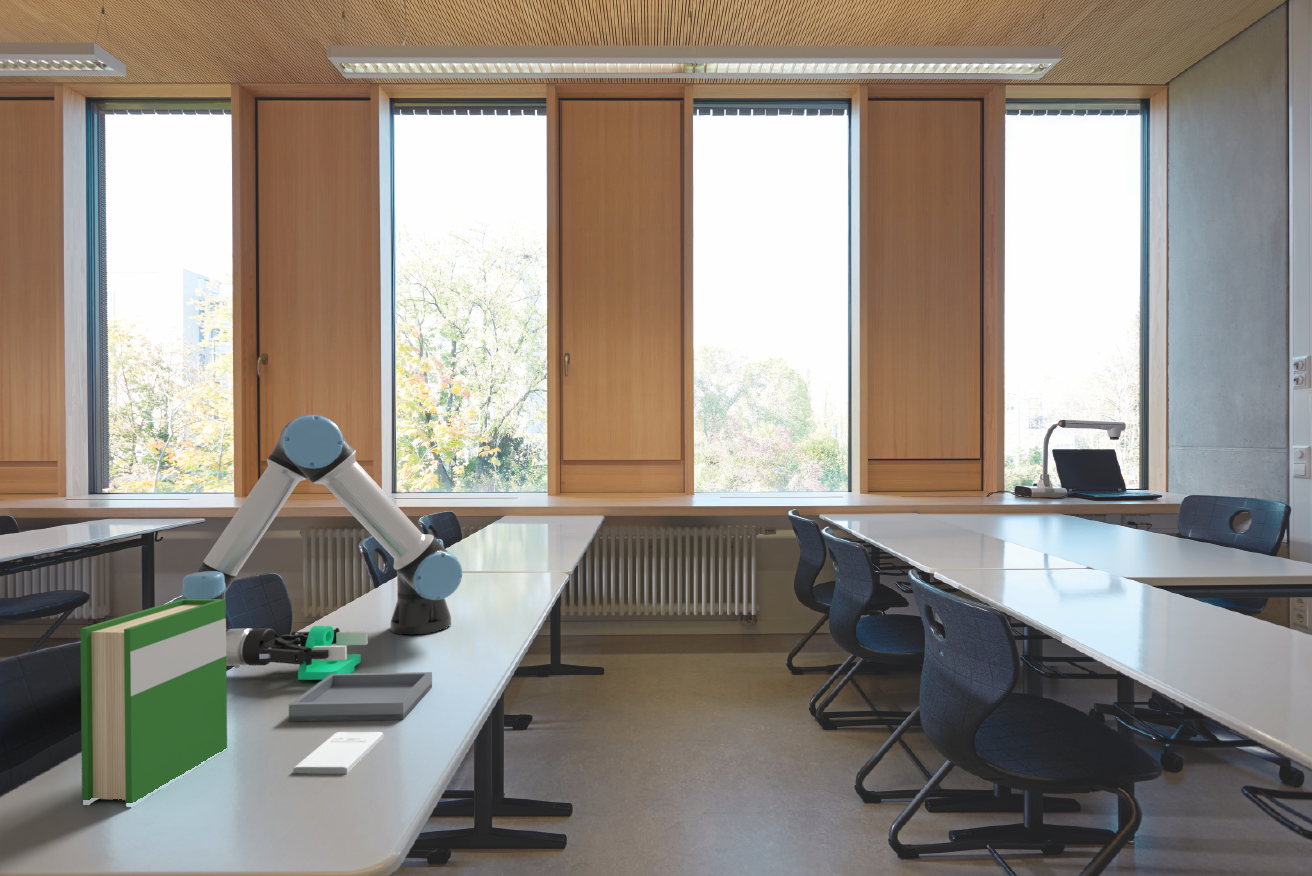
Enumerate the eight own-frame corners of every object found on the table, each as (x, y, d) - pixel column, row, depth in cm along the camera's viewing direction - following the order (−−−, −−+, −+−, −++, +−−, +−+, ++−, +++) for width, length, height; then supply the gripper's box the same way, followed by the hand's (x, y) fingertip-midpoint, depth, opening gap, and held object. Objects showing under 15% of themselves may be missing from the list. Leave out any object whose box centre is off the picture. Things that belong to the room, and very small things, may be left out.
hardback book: (131, 808, 93) (130, 629, 93) (82, 805, 94) (80, 628, 94) (227, 749, 110) (225, 599, 110) (184, 748, 111) (183, 598, 111)
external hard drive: (292, 778, 102) (335, 740, 114) (347, 778, 102) (383, 740, 114) (292, 766, 102) (335, 731, 114) (347, 766, 102) (383, 731, 114)
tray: (331, 689, 137) (330, 673, 137) (432, 687, 137) (431, 672, 137) (289, 721, 121) (288, 704, 121) (403, 719, 121) (403, 702, 121)
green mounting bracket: (334, 685, 140) (334, 634, 140) (298, 684, 140) (297, 634, 140) (362, 665, 152) (361, 618, 152) (328, 665, 152) (328, 619, 152)
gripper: (279, 648, 157) (377, 647, 157) (217, 683, 135) (332, 681, 135) (278, 615, 157) (377, 614, 157) (217, 644, 135) (332, 642, 135)
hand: (356, 645), depth 146 cm, fingers open, 10 cm apart
